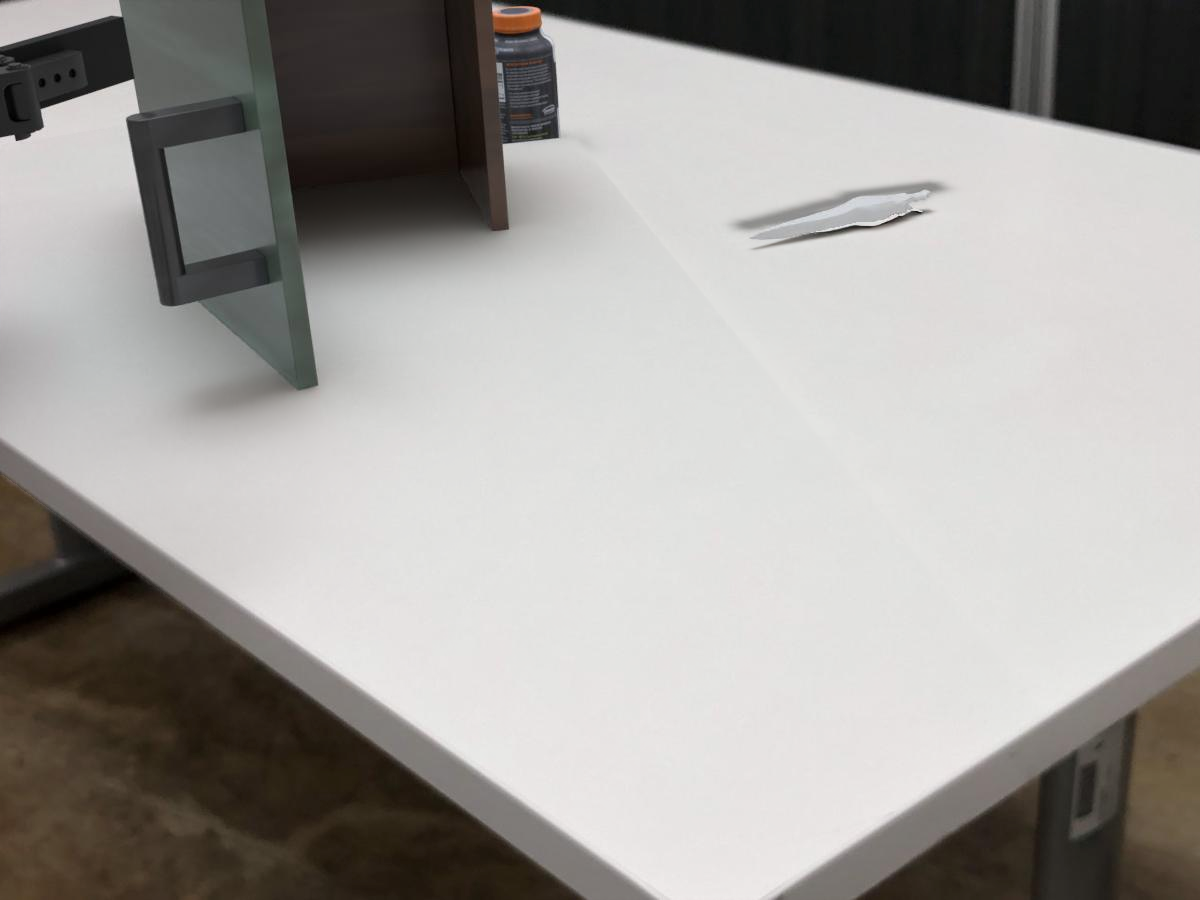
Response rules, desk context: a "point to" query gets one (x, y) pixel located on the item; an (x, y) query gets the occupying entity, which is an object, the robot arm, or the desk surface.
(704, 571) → the desk surface
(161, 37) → the cupboard door
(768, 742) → the desk surface
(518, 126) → the pill bottle
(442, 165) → the cupboard
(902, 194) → the grey tapered strip
